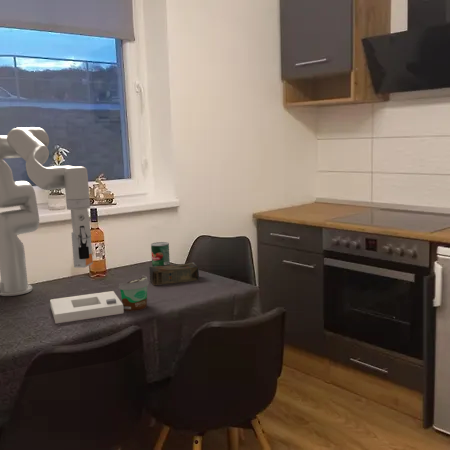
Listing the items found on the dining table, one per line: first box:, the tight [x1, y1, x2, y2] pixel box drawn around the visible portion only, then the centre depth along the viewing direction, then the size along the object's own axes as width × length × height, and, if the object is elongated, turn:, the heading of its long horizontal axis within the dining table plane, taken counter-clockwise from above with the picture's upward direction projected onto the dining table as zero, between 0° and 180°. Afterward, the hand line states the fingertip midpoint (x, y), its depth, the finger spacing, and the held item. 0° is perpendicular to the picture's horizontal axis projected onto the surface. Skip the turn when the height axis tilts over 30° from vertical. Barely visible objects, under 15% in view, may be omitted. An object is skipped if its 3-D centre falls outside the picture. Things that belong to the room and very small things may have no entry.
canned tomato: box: [150, 241, 171, 267], centre depth 244 cm, size 8×8×11 cm
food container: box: [118, 274, 150, 312], centre depth 188 cm, size 12×6×10 cm, turn 148°
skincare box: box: [71, 231, 94, 269], centre depth 185 cm, size 6×4×12 cm
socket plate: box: [49, 290, 125, 324], centre depth 188 cm, size 22×18×4 cm
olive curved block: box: [149, 262, 200, 286], centre depth 222 cm, size 8×19×7 cm, turn 109°
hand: (82, 256), depth 185 cm, fingers closed on skincare box, 7 cm apart
